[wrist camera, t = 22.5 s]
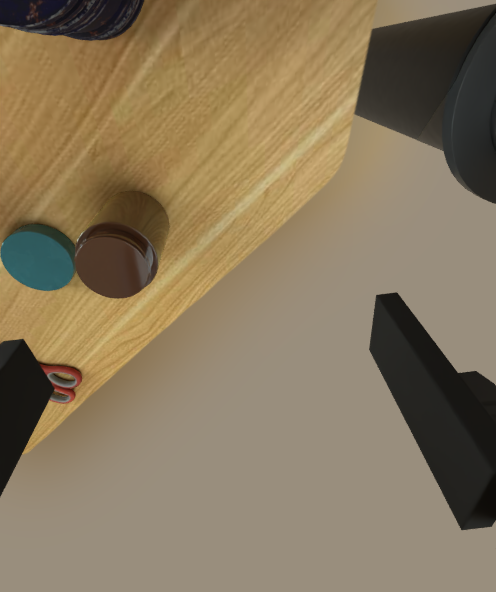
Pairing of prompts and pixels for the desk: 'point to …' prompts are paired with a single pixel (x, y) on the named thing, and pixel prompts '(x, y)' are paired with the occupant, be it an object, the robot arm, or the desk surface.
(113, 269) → the jar
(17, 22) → the dark blue barrel
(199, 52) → the desk surface
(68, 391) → the scissors
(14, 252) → the lid
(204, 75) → the desk surface
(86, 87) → the desk surface
